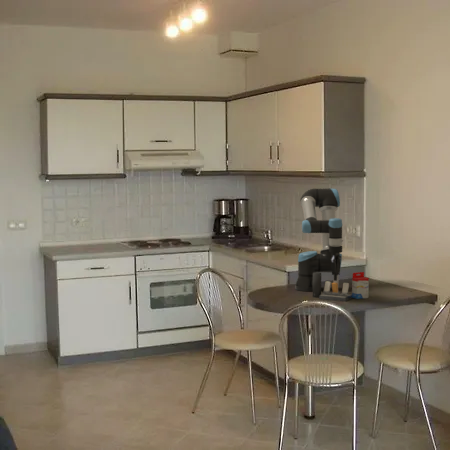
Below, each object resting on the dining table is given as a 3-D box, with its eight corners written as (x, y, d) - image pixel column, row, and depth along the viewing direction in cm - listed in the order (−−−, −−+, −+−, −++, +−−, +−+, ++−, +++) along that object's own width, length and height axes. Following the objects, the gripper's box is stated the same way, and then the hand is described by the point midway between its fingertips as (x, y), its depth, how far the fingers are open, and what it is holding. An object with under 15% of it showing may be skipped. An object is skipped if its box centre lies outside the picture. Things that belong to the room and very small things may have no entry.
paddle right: (341, 294, 409) (343, 282, 411) (342, 294, 411) (344, 283, 413) (346, 294, 408) (348, 283, 410) (347, 295, 409) (349, 283, 411)
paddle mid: (332, 294, 413) (331, 283, 410) (333, 292, 414) (332, 282, 411) (337, 294, 411) (336, 284, 408) (338, 293, 412) (337, 282, 410)
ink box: (356, 299, 410) (357, 274, 409) (351, 297, 415) (352, 272, 413) (368, 297, 414) (369, 272, 413) (363, 296, 418) (363, 271, 417)
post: (311, 297, 417) (311, 273, 416) (314, 295, 421) (314, 272, 420) (319, 297, 415) (319, 274, 413) (322, 296, 419) (322, 272, 418)
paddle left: (323, 292, 415) (325, 281, 417) (324, 293, 416) (326, 281, 418) (328, 292, 413) (330, 281, 415) (329, 293, 414) (331, 282, 416)
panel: (319, 298, 412) (319, 294, 411) (325, 295, 421) (325, 291, 421) (345, 301, 404) (345, 296, 404) (351, 298, 414) (352, 293, 413)
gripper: (338, 247, 401) (338, 288, 404) (345, 244, 412) (345, 284, 415) (325, 246, 405) (326, 287, 407) (333, 243, 416) (333, 283, 418)
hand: (336, 285), depth 411 cm, fingers closed
